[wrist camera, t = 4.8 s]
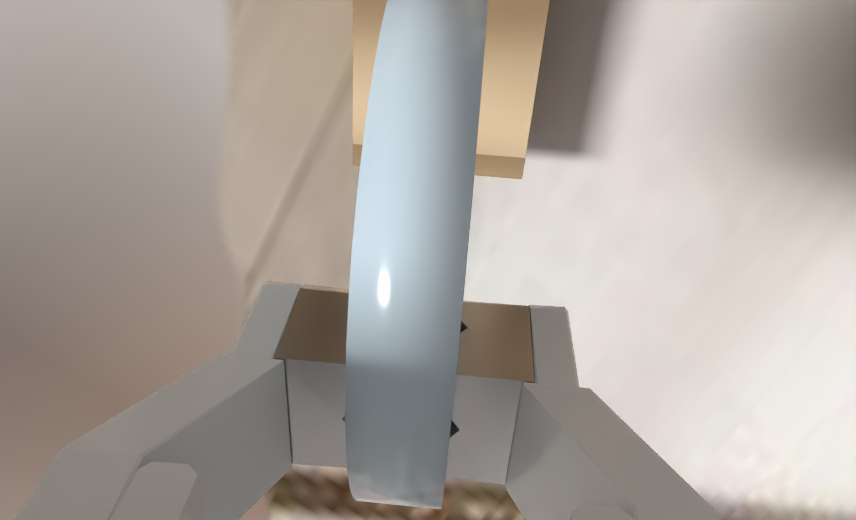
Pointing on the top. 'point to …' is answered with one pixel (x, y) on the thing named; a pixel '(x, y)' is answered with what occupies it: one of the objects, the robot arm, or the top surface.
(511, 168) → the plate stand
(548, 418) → the robot arm
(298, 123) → the top surface
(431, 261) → the blue plate
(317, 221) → the top surface
